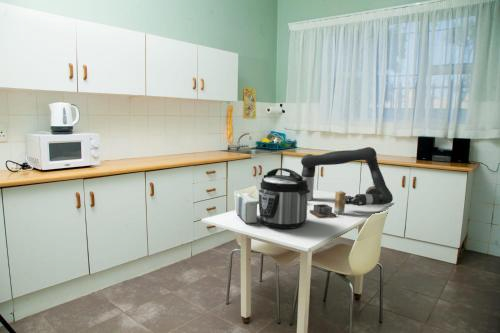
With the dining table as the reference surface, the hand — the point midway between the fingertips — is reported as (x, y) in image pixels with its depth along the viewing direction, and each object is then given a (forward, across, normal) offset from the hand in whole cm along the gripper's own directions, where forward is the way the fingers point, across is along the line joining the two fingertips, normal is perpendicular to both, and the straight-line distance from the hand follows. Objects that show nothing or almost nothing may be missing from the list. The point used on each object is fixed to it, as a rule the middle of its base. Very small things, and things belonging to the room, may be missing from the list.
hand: (341, 200), depth 227 cm
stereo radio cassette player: (+63, -2, +9) cm, 63 cm away
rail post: (+1, 0, +8) cm, 9 cm away
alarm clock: (-39, -20, +8) cm, 44 cm away
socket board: (+13, 0, +8) cm, 16 cm away
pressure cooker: (+45, +10, +9) cm, 47 cm away
